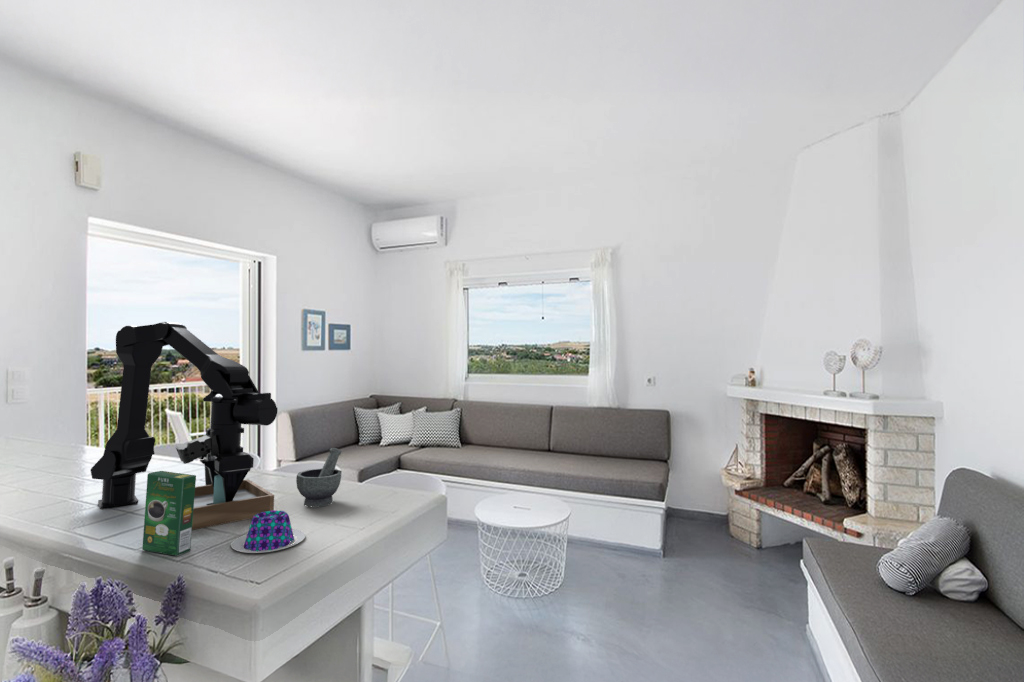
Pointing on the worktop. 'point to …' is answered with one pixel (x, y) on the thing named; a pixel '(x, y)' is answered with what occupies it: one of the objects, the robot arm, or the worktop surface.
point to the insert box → (230, 505)
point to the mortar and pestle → (320, 482)
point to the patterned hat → (268, 533)
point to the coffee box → (169, 512)
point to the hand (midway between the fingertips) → (222, 497)
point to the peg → (218, 490)
